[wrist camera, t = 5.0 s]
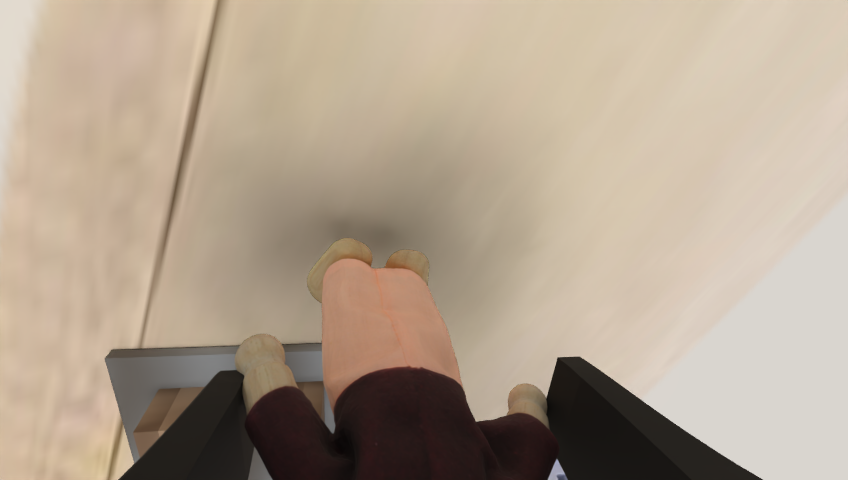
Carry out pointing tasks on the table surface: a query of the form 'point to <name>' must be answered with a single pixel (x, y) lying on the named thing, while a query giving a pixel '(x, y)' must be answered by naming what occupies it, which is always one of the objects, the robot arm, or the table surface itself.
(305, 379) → the wooden tray
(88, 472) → the table surface
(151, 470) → the robot arm
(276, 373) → the grandmother figurine
